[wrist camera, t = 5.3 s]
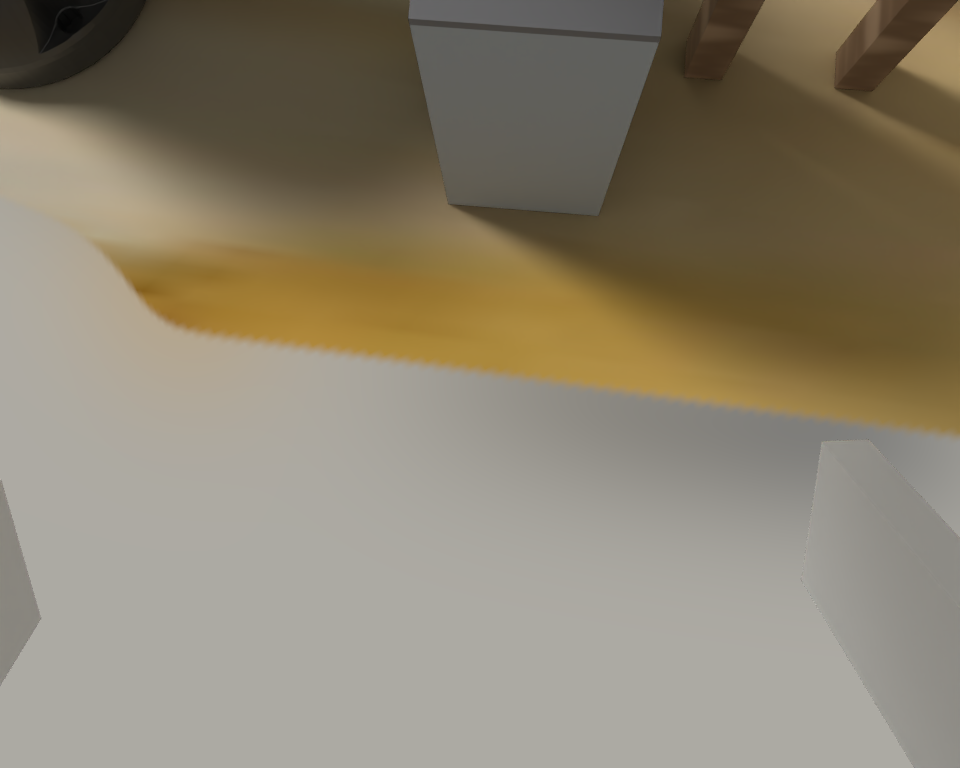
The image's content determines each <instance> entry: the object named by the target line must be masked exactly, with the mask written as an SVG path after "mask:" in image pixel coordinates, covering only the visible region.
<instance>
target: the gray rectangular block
mask: <svg viewBox="0 0 960 768" xmlns="http://www.w3.org/2000/svg"><path fill="white" fill-rule="evenodd" d="M663 4H664V0H410V7H409V16H408V20H409V24H410V29H411V34H412V38H413V43H414V47H415V52H416V57H417V61H418V66H419V70H420V75H421V80H422V84H423V89H424V93H425V98H426V103H427V107H428V112H429V117H430V121H431V126H432V130H433V135H434V140H435V144H436V149H437V153H438V158H439V163H440V167H441V172H442V177H443V181H444V186H445V190H446V195H447V200H448V204H454V205H467V206H480V207H492V208H505V209H517V210H530V211H543V212H555V213H568V214H580V215H593V216H598V215H599V212H600V209H601V207H602V204H603V201H604V198H605V195H606V192H607V189H608V187H609V184H610V181H611V178H612V175H613V172H614V170H615V167H616V164H617V161H618V158H619V155H620V152H621V150H622V147H623V144H624V141H625V138H626V135H627V132H628V130H629V127H630V124H631V121H632V118H633V115H634V113H635V110H636V107H637V104H638V101H639V98H640V95H641V93H642V90H643V87H644V84H645V81H646V78H647V75H648V73H649V70H650V67H651V64H652V61H653V58H654V55H655V53H656V50H657V47H658V44H659V41H660V38H661V31H662V18H663Z"/></svg>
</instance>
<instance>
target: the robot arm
mask: <svg viewBox="0 0 960 768" xmlns="http://www.w3.org/2000/svg"><path fill="white" fill-rule="evenodd" d="M145 1H146V0H0V88H28V87H35V86H41V85H45V84H49V83H53V82H56V81H59V80H62V79H65V78H67V77H69V76H72V75H74V74H76V73H78V72H80V71H82V70H84V69H85V68H87V67H89V66H90V65H92V64H93V63H95V62H96V61H98V60H99V59H100V58H102V57H103V56H104V55H105V54H107V53H108V52H109V51H110V50H111V49H112V48H113V47H114V46H115V45H116V44H117V43H118V42H119V41H120V40H121V39H122V38H123V37H124V35H125V34H126V33H127V32H128V30H129V29H130V28H131V26H132V25H133V23H134V22H135V20H136V18H137V17H138V15H139V13H140V11H141V9H142V7H143V6H144V3H145ZM801 581H802V583H803V584H804V586H805V588H806V589H807V591H808V593H809V594H810V596H811V597H812V599H813V601H814V603H815V604H816V606H817V608H818V609H819V611H820V613H821V614H822V616H823V618H824V619H825V621H826V623H827V624H828V626H829V628H830V629H831V631H832V633H833V634H834V636H835V637H836V639H837V641H838V642H839V644H840V646H841V647H842V649H843V651H844V652H845V654H846V656H847V657H848V659H849V661H850V662H851V664H852V666H853V667H854V669H855V671H856V672H857V674H858V675H859V677H860V679H861V681H862V682H863V684H864V685H865V687H866V689H867V691H868V692H869V694H870V696H871V697H872V699H873V700H874V702H875V704H876V705H877V707H878V709H879V711H880V712H881V714H882V715H883V717H884V719H885V720H886V722H887V724H888V725H889V727H890V729H891V730H892V732H893V734H894V735H895V737H896V739H897V740H898V742H899V744H900V745H901V747H902V749H903V750H904V752H905V754H906V755H907V757H908V759H909V760H910V762H911V764H912V765H913V767H914V768H960V537H959V536H958V535H957V534H956V533H955V532H954V531H953V530H952V529H951V528H950V527H949V526H948V525H947V523H946V522H945V521H944V520H943V519H942V518H941V517H940V516H939V515H938V514H937V513H936V512H935V511H934V509H932V507H931V506H930V505H929V504H928V503H927V502H926V501H925V500H924V499H923V498H922V496H921V495H920V494H919V493H918V492H917V491H916V490H915V489H914V488H913V487H912V486H911V485H910V484H909V483H908V482H907V480H906V479H905V478H904V477H903V476H902V475H901V474H900V473H899V472H898V471H897V470H896V469H895V467H894V466H893V465H892V464H891V463H890V462H889V461H888V460H887V459H886V458H885V457H884V456H883V455H882V453H881V452H879V450H878V449H877V448H876V447H875V446H874V445H873V444H872V443H871V442H870V441H869V440H845V441H822V444H821V451H820V458H819V464H818V471H817V478H816V484H815V491H814V498H813V504H812V511H811V518H810V524H809V531H808V538H807V545H806V551H805V558H804V565H803V572H802V578H801ZM40 620H41V617H40V613H39V609H38V606H37V603H36V599H35V595H34V592H33V588H32V585H31V582H30V578H29V575H28V571H27V568H26V564H25V561H24V557H23V554H22V550H21V547H20V543H19V540H18V536H17V533H16V530H15V526H14V523H13V519H12V515H11V512H10V509H9V505H8V502H7V498H6V495H5V491H4V488H3V484H2V481H1V479H0V685H1V684H2V682H3V680H4V679H5V677H6V675H7V673H8V672H9V670H10V669H11V667H12V666H13V664H14V662H15V661H16V659H17V657H18V656H19V654H20V652H21V651H22V649H23V647H24V646H25V644H26V643H27V641H28V639H29V638H30V636H31V634H32V633H33V631H34V629H35V628H36V626H37V625H38V623H39V621H40Z"/></svg>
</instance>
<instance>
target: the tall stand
mask: <svg viewBox="0 0 960 768" xmlns="http://www.w3.org/2000/svg"><path fill="white" fill-rule="evenodd" d="M764 1H765V0H704V1H703V3H702V6H701V8H700V11H699V13H698V15H697V18H696V20H695V23H694V25H693V28H692V30H691V32H690V35H689V37H688V40H687V43H686V58H685V72H684V77H688V78H702V79H716V80H722V78H723V76H724V74H725V73H726V71H727V69H728V67H729V65H730V63H731V61H732V60H733V58H734V56H735V54H736V52H737V50H738V49H739V47H740V45H741V43H742V41H743V39H744V37H745V36H746V34H747V32H748V30H749V28H750V26H751V25H752V23H753V21H754V19H755V17H756V15H757V14H758V12H759V10H760V8H761V6H762V4H763V2H764ZM957 1H958V0H877V1H876V2H875V3H874V5H873V6H872V7H871V9H870V10H869V11H868V12H867V14H866V15H865V16H864V18H863V19H862V20H861V21H860V23H859V24H858V25H857V27H856V28H855V29H854V30H853V32H852V33H851V34H850V36H849V37H848V38H847V39H846V41H845V42H844V43H843V45H842V46H841V47H840V48H839V50H838V51H837V52H836V68H835V87H834V88H839V89H853V90H866V91H873V90H874V89H875V88H876V87H877V85H878V84H879V83H880V82H881V81H882V80H883V79H884V78H885V77H886V76H887V75H888V74H889V73H890V72H891V71H892V70H893V69H894V68H895V67H896V65H897V64H898V63H899V62H900V61H901V60H902V59H903V58H904V57H905V56H906V55H907V54H908V53H909V52H910V51H911V50H912V49H913V48H914V47H915V45H916V44H917V43H918V42H919V41H920V40H921V39H922V38H923V37H924V36H925V35H926V34H927V33H928V32H929V31H930V30H931V29H932V28H933V27H934V25H935V24H936V23H937V22H938V21H939V20H940V19H941V18H942V17H943V16H944V15H945V14H946V13H947V12H948V11H949V10H950V9H951V8H952V7H953V5H954V4H955V3H956V2H957Z"/></svg>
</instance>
